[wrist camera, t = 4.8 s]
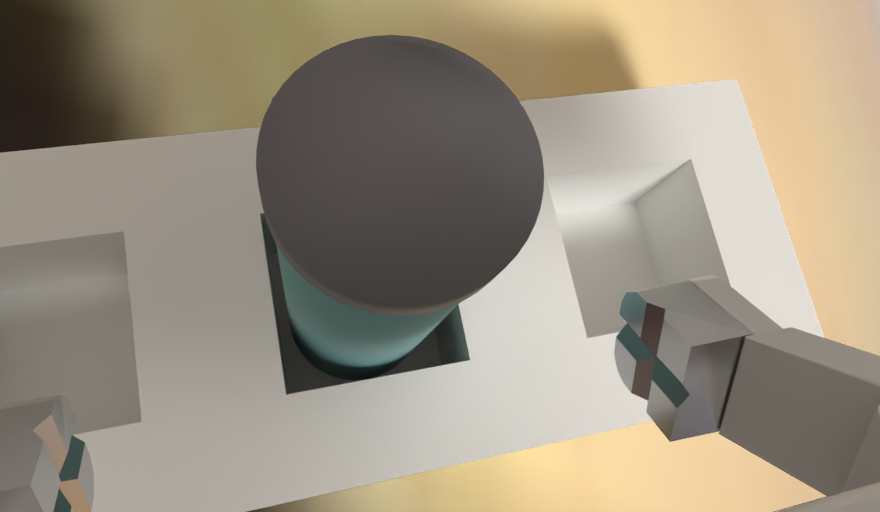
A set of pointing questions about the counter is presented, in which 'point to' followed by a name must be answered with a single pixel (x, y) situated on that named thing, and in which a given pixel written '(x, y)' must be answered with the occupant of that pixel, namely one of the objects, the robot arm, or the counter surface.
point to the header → (426, 367)
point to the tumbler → (392, 194)
